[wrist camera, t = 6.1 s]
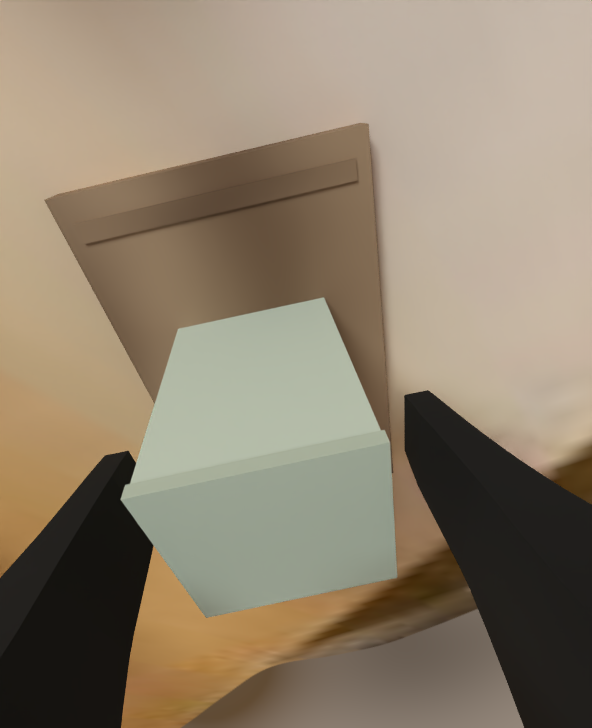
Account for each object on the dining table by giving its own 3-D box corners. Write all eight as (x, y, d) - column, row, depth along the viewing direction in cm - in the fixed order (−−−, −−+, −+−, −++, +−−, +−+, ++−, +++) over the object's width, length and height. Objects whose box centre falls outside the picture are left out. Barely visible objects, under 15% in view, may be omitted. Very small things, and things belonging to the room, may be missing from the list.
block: (220, 435, 14) (206, 617, 9) (175, 327, 11) (120, 499, 6) (342, 409, 14) (397, 577, 9) (325, 295, 11) (390, 442, 6)
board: (215, 484, 18) (213, 514, 16) (68, 189, 10) (42, 201, 9) (382, 447, 18) (393, 474, 16) (353, 122, 10) (369, 124, 9)
